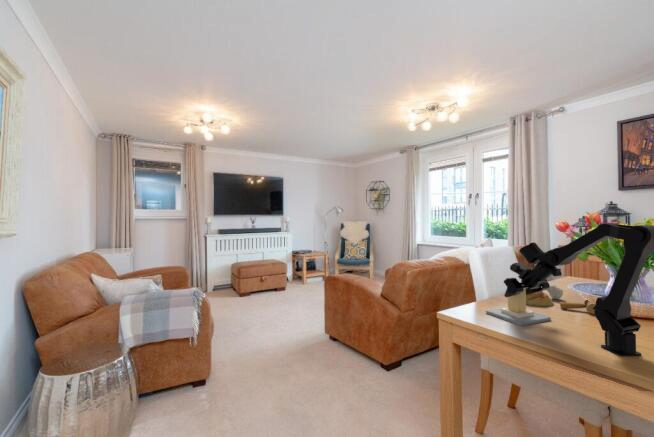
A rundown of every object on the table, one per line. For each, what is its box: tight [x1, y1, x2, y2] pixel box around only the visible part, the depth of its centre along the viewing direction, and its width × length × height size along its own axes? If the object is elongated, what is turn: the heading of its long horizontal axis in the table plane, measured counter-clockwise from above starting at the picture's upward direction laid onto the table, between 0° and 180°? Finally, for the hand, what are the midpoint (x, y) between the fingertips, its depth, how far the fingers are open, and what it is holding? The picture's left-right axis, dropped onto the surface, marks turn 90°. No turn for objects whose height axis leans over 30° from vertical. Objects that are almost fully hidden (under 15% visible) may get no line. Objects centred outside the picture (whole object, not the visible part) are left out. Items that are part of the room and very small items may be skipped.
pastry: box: [526, 291, 555, 307], centre depth 142 cm, size 13×15×8 cm
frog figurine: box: [546, 284, 564, 300], centre depth 146 cm, size 6×7×7 cm
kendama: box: [559, 299, 596, 315], centre depth 127 cm, size 8×6×18 cm
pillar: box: [507, 288, 527, 313], centre depth 122 cm, size 4×4×13 cm
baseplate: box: [485, 306, 552, 327], centre depth 122 cm, size 16×16×3 cm
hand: (513, 295), depth 124 cm, fingers open, 9 cm apart
